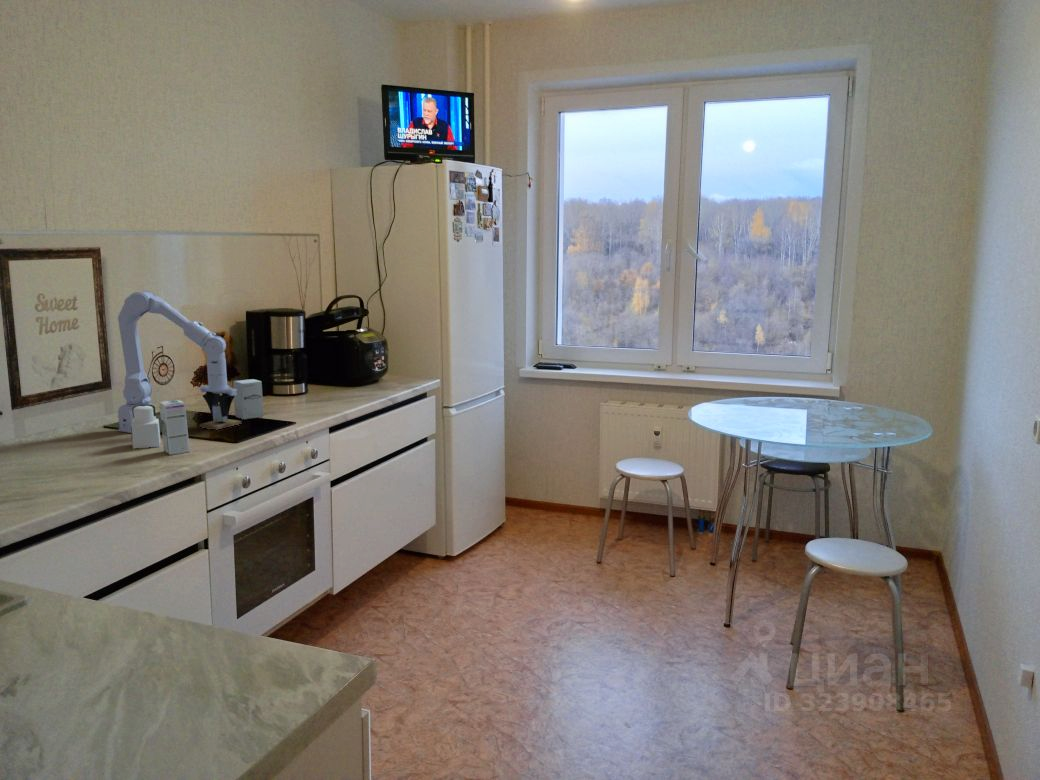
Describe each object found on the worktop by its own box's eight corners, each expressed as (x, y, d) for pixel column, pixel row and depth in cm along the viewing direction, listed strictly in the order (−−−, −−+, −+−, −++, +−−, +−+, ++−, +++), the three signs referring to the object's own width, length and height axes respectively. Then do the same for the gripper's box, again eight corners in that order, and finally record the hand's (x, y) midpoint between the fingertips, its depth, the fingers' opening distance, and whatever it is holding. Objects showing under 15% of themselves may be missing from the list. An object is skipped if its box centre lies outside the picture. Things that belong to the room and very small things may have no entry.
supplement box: (243, 420, 262) (240, 383, 260) (234, 416, 268) (232, 380, 266) (264, 417, 267) (262, 380, 265) (255, 413, 273) (253, 378, 270)
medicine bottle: (134, 443, 230) (130, 404, 228) (160, 441, 233) (157, 402, 231) (132, 449, 224) (129, 408, 221) (159, 446, 226) (156, 406, 224)
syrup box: (190, 452, 221) (186, 402, 218) (168, 455, 217) (164, 404, 214) (184, 448, 225) (180, 399, 222) (162, 451, 221) (158, 401, 219)
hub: (219, 421, 250) (218, 406, 249) (210, 420, 252) (209, 405, 251) (230, 419, 254) (229, 404, 253) (221, 418, 256) (220, 403, 255)
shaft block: (217, 430, 247) (215, 413, 246) (199, 427, 251) (198, 411, 250) (241, 424, 256) (240, 408, 255) (224, 422, 259) (223, 405, 258)
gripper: (243, 374, 250) (245, 415, 253) (211, 371, 257) (214, 411, 259) (225, 377, 244) (228, 419, 246) (193, 373, 251) (196, 415, 253)
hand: (220, 415), depth 252 cm, fingers closed on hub, 4 cm apart
